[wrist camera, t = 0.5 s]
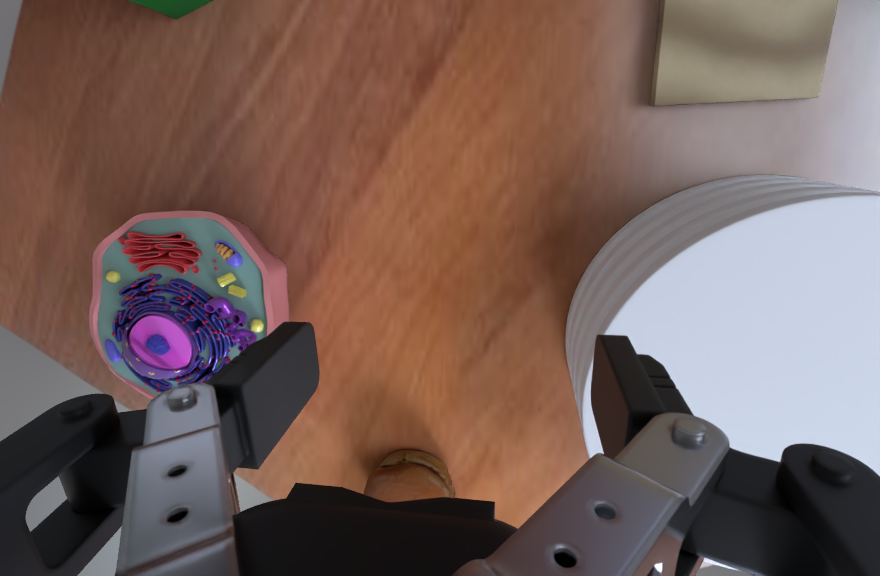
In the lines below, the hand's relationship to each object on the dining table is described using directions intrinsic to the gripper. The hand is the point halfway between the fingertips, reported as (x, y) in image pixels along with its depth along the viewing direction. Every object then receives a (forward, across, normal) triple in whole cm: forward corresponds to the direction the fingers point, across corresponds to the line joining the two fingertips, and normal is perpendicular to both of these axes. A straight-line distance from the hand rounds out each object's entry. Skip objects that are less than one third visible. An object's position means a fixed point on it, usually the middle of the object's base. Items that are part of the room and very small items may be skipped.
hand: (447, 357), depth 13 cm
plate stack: (+29, -21, +12) cm, 38 cm away
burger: (+28, +8, +31) cm, 43 cm away
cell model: (+29, +26, +9) cm, 40 cm away
